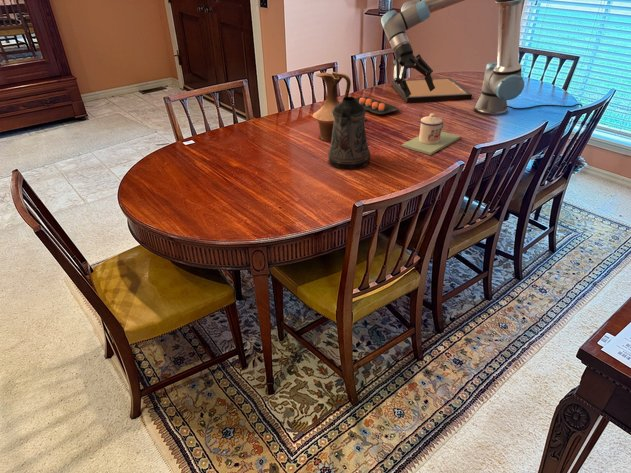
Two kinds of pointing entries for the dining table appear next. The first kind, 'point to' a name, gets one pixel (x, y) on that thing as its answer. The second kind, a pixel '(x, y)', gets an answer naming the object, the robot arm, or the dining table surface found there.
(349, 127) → the beer stein
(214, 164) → the dining table surface
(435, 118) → the teacup with lid
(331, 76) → the pitcher
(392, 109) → the sushi plate
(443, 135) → the mat
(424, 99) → the cork board
